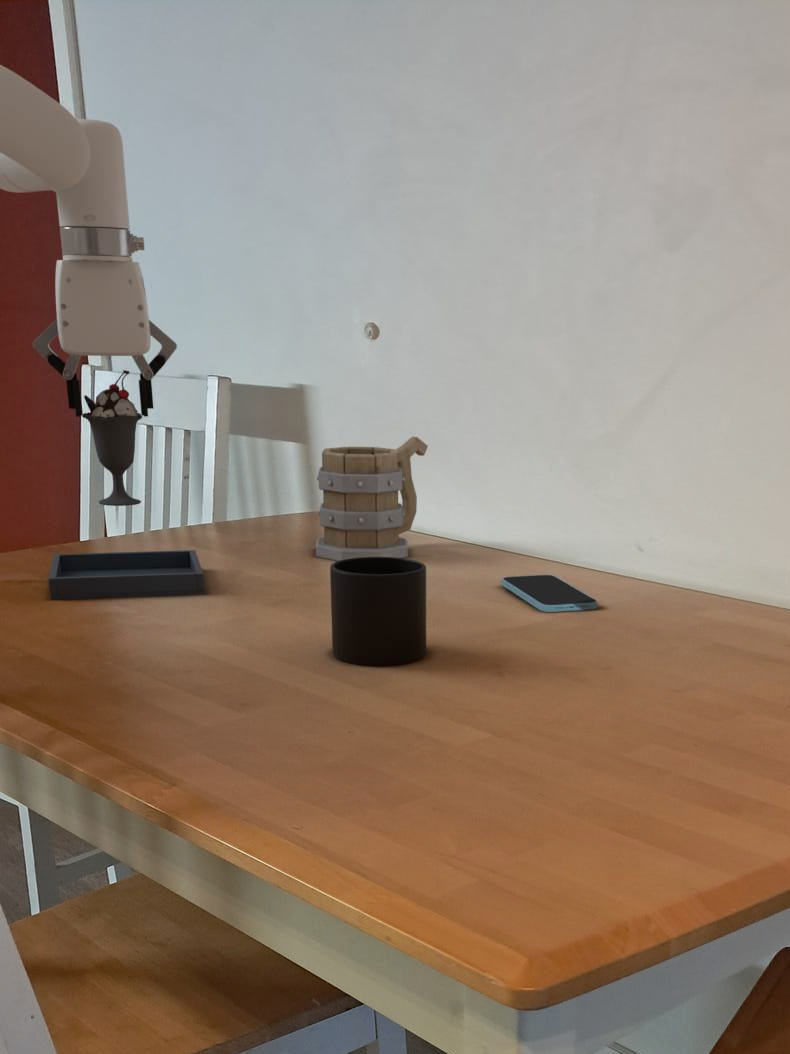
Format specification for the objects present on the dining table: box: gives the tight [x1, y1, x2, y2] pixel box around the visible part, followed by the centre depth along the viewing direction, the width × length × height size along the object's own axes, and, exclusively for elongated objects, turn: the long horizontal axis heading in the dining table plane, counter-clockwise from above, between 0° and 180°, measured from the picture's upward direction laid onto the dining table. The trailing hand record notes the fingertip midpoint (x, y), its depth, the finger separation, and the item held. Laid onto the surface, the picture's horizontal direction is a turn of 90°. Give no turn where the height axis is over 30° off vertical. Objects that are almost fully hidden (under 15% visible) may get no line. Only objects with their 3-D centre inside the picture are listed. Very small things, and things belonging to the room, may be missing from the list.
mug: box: [329, 557, 427, 667], centre depth 128 cm, size 9×12×9 cm
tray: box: [48, 549, 206, 601], centre depth 157 cm, size 18×16×3 cm
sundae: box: [81, 369, 143, 507], centre depth 150 cm, size 7×7×15 cm
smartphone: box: [501, 574, 598, 613], centre depth 154 cm, size 7×1×15 cm
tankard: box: [315, 436, 429, 562], centre depth 178 cm, size 20×13×15 cm, turn 139°
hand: (112, 414), depth 149 cm, fingers closed on sundae, 6 cm apart
